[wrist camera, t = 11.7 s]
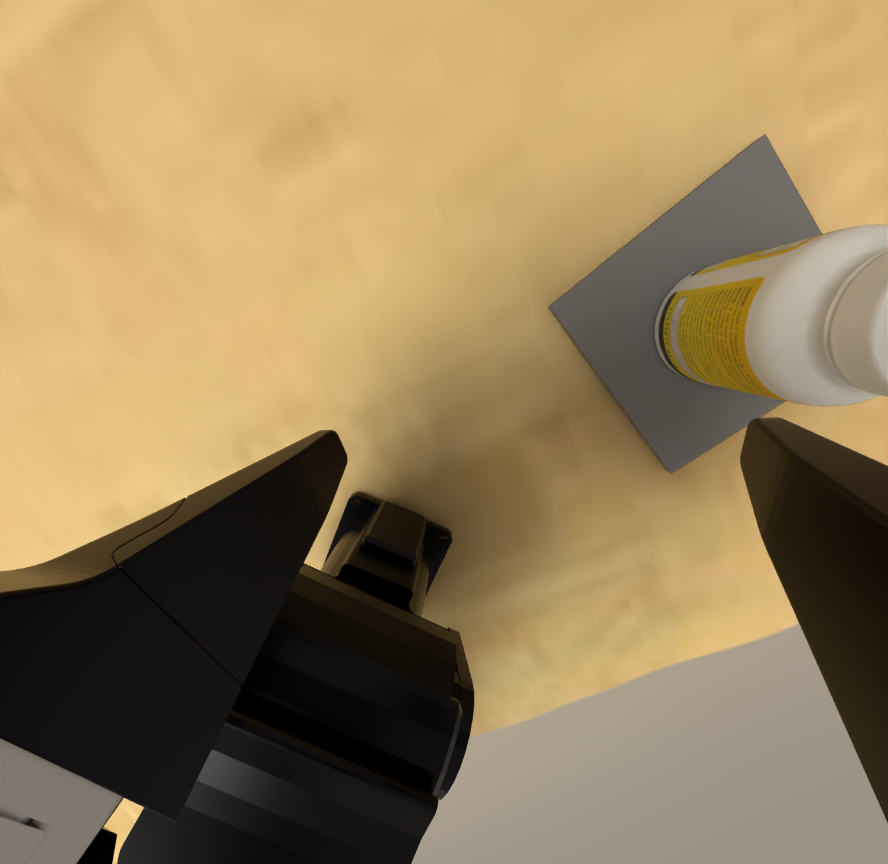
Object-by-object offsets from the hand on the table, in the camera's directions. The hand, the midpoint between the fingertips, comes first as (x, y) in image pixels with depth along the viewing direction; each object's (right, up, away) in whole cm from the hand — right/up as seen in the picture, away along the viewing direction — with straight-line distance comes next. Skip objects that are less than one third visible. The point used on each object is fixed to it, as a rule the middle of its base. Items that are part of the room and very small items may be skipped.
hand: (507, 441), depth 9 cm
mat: (+12, +6, +10) cm, 16 cm away
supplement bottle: (+11, +5, +10) cm, 16 cm away
